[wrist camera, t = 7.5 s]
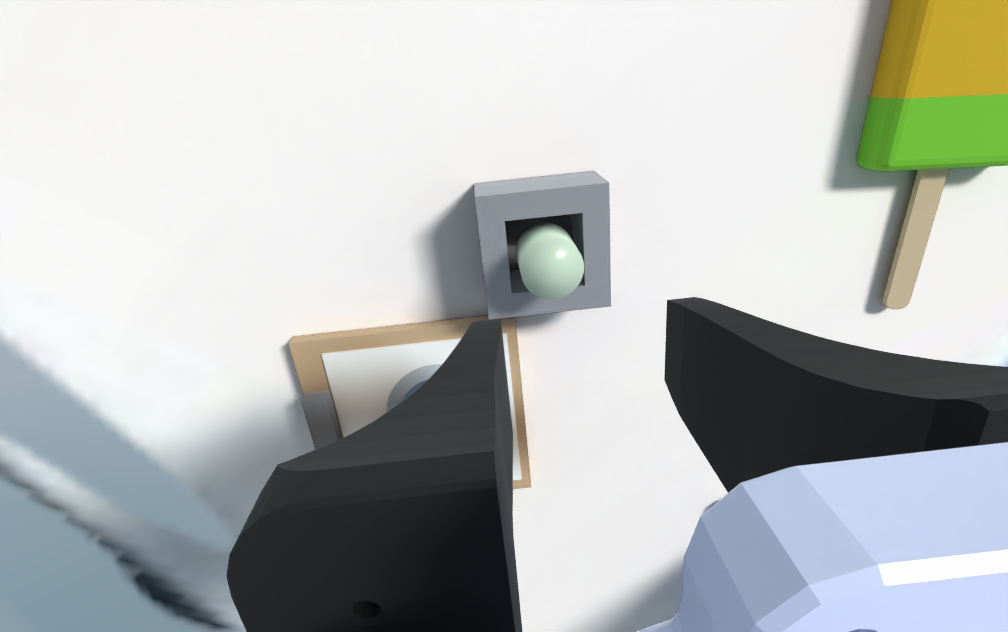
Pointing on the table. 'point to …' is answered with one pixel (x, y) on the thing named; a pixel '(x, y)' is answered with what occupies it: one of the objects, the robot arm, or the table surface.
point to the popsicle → (935, 110)
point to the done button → (549, 261)
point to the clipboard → (390, 376)
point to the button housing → (533, 200)
